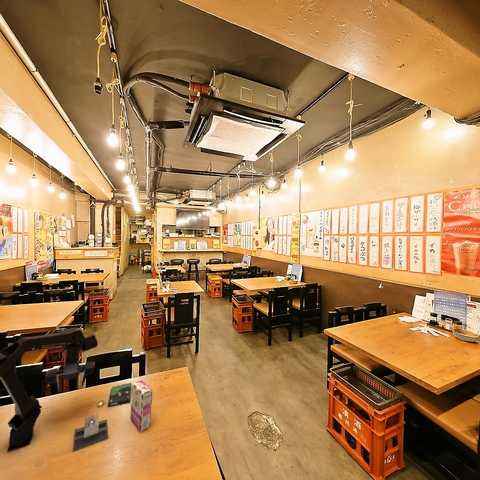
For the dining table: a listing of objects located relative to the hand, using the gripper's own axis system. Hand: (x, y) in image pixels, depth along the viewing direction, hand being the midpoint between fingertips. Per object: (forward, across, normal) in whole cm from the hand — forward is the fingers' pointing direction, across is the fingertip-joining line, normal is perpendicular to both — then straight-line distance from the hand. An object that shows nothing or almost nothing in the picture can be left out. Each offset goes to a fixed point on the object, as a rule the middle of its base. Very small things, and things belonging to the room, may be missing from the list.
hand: (70, 389), depth 108 cm
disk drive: (+13, +22, +3) cm, 26 cm away
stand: (+12, +9, -19) cm, 24 cm away
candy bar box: (+12, +28, -22) cm, 38 cm away
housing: (+10, +9, -19) cm, 23 cm away
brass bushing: (+12, +13, 0) cm, 18 cm away
